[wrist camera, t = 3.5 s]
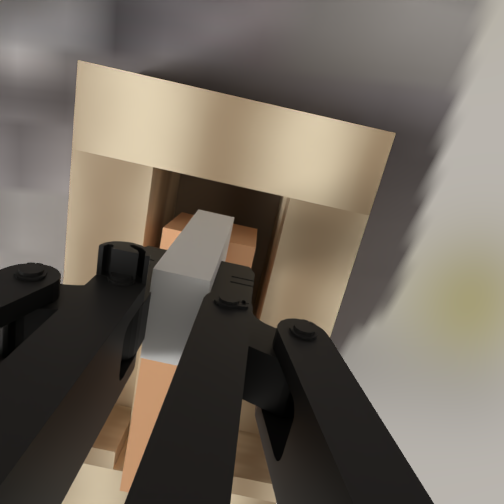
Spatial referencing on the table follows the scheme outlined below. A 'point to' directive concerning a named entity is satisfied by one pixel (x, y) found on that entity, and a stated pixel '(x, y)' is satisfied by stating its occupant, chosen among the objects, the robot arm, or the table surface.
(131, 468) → the bar
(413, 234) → the table surface
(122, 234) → the frame
